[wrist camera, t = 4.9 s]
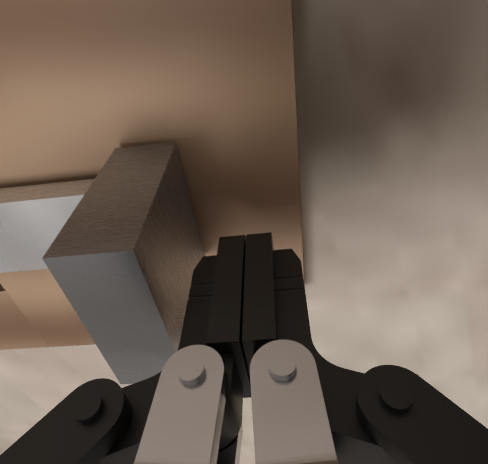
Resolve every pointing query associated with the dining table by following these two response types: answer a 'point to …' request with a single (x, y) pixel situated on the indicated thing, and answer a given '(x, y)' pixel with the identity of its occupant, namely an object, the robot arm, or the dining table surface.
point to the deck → (148, 120)
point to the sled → (114, 251)
